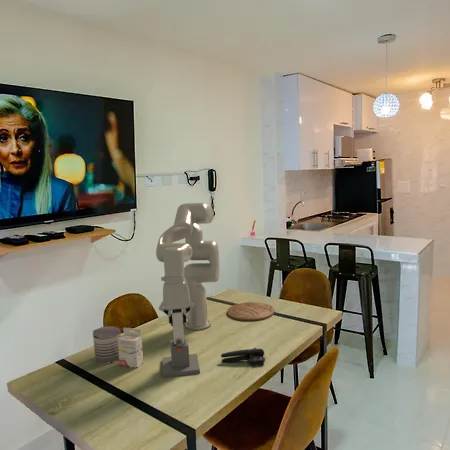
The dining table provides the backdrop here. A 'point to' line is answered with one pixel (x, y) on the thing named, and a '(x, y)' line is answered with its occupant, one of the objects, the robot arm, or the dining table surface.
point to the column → (178, 326)
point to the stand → (180, 361)
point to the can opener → (245, 356)
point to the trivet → (250, 311)
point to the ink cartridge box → (130, 348)
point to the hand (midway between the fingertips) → (177, 324)
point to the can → (106, 344)
